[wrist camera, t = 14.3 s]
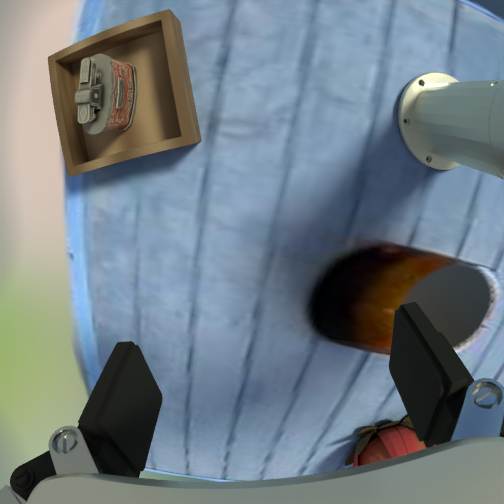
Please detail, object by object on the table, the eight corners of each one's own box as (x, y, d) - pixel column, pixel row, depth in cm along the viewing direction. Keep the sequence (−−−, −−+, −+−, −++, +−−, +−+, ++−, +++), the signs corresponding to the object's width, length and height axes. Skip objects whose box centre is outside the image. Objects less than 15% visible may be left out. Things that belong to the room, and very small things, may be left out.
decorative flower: (388, 462, 63) (413, 558, 36) (318, 454, 59) (333, 573, 32) (450, 411, 55) (496, 514, 28) (384, 395, 51) (431, 535, 24)
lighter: (136, 129, 33) (97, 135, 24) (110, 130, 33) (65, 137, 24) (140, 62, 30) (102, 46, 21) (113, 65, 30) (70, 52, 21)
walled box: (180, 21, 29) (169, 9, 24) (201, 140, 35) (193, 143, 30) (69, 61, 30) (47, 57, 25) (88, 169, 36) (68, 177, 31)
